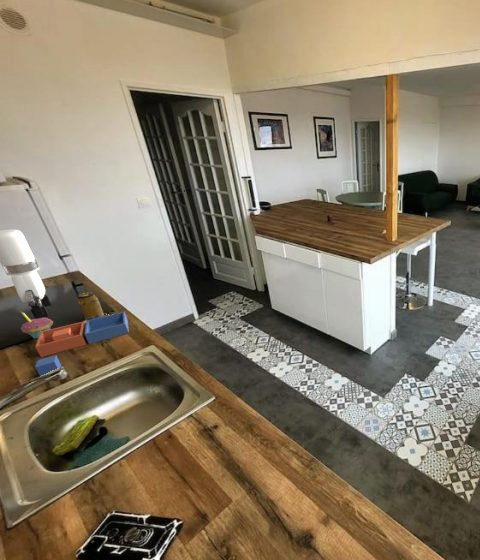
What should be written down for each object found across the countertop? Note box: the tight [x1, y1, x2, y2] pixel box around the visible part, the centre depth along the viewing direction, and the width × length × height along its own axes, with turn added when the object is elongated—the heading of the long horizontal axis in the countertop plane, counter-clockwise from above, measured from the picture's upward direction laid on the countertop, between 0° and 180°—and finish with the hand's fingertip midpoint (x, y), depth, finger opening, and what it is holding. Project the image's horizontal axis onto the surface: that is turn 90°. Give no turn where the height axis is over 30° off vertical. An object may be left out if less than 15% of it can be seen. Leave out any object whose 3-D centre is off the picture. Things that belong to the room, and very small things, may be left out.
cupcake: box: [20, 311, 54, 339], centre depth 122 cm, size 9×8×12 cm
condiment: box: [77, 291, 109, 324], centre depth 134 cm, size 7×8×12 cm
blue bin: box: [85, 311, 130, 345], centre depth 126 cm, size 12×12×4 cm
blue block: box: [34, 354, 62, 376], centre depth 104 cm, size 4×4×4 cm
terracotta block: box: [52, 328, 74, 341], centre depth 119 cm, size 4×4×4 cm
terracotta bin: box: [35, 320, 88, 358], centre depth 119 cm, size 12×12×4 cm
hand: (44, 311), depth 110 cm, fingers open, 9 cm apart
